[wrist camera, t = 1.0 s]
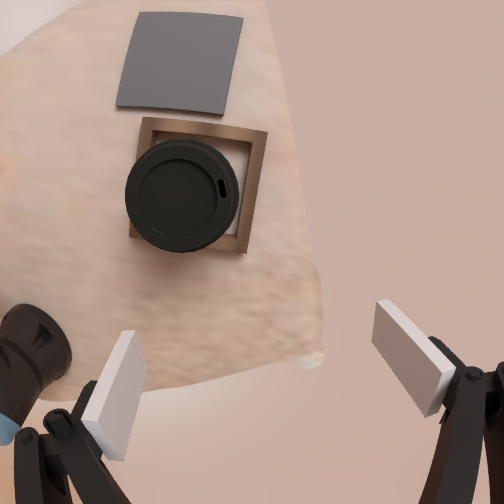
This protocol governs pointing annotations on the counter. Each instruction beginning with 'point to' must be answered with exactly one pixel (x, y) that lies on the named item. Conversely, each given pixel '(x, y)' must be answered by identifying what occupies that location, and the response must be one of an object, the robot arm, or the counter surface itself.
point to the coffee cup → (182, 195)
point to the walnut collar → (224, 132)
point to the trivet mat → (180, 61)
